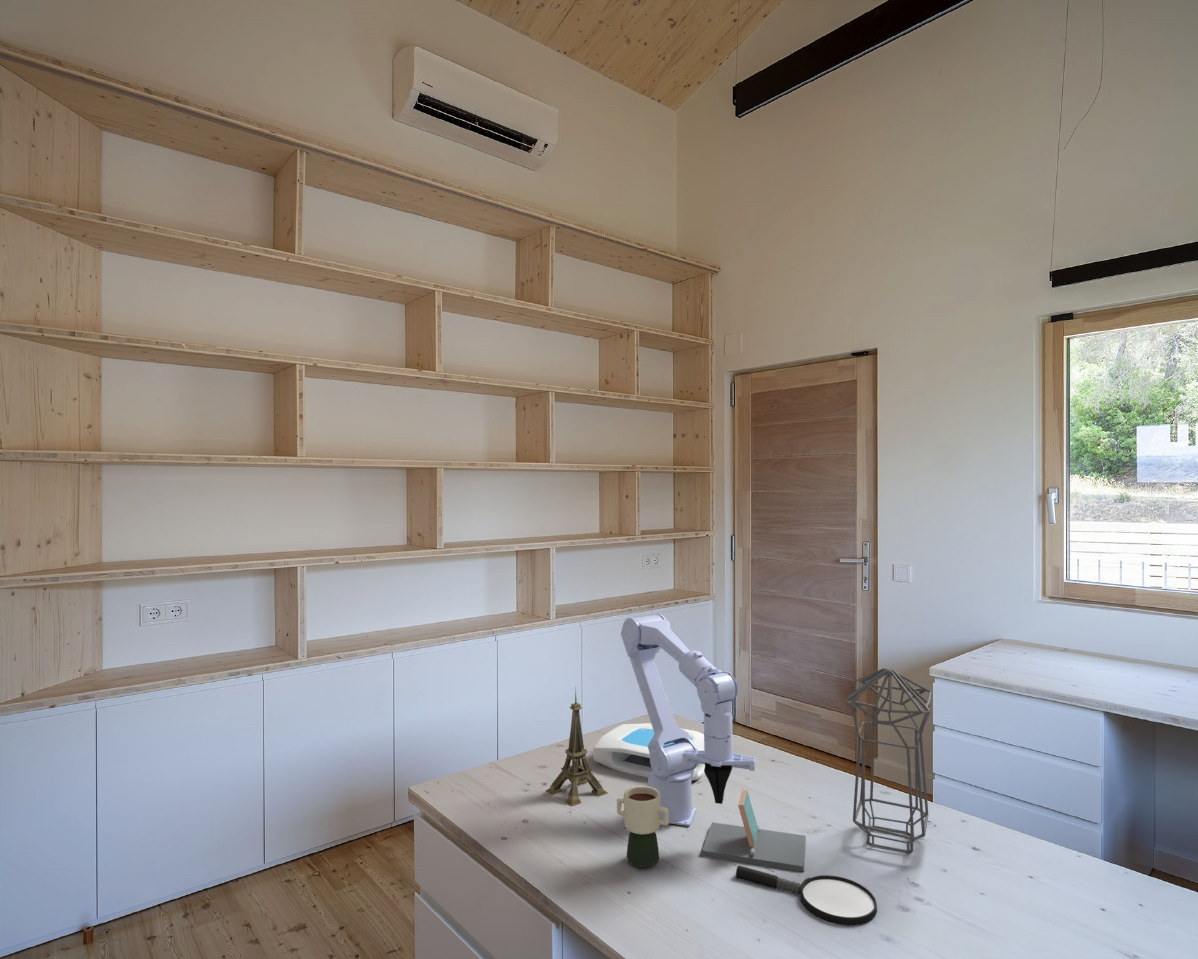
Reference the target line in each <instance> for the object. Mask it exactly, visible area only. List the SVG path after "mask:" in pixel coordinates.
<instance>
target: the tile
mask: <svg viewBox="0 0 1198 959" xmlns="http://www.w3.org/2000/svg"><path fill="white" fill-rule="evenodd" d="M748 792H749V791H748V789H743V790H741V794H740V797H739V800H738V804H737V805H738V806H737V807H738V810H739V814H740V816H741V821H742V824H743V827H744V828H745V832H746V835H747V839H748V842H749V846H750V847H752V846H755V843H756V838H757V833H758V826H759V825H758V824H757V820H756V819H757V818H756V816H755V813H754V810H753V806H752V802H751V799H750V795H749V793H748ZM757 825H758V826H757Z"/></svg>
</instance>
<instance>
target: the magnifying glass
mask: <svg viewBox="0 0 1198 959" xmlns="http://www.w3.org/2000/svg"><path fill="white" fill-rule="evenodd" d="M735 877H736V879H739V880H742V881H745V882H750V883H754V884H758V885H761V886H764V887H767V888H770V889H777V890H781V891H785V892H789V893H792V894H796V895H799V900H800V903H801V904H802V906H803V908H804V909H806V911H807V912H808V913H810V914H811V915H813V916H814V917H816V918H818V919H819V920H823V921H825V922H827V923H831V924H835V925H840V926H848V927H849V926H850V927H851V926H861V925H864V924H867V923H869V922H871V921H872V920H874V919H875V917H876V916H877V912H878V908H877V907H878V904H877V899H876V897H875V896H874V895H873V893H872V892H871V890H869V889H868V888H867V887H865V886H863V885H862V884H860V883H858V882H856V881H854V880H852V879H849V878H846V877H842V876H838V875H828V874H825V875H824V874H821V875H816V876H812V877H806V878H805V879H804V880H802V882H797V881H794V880H793V881H792V880H788V879H786V878H782V877H778V876H777V875H776V874H775V875H774V874H771V873H767V872H765V871H761V870H756V869H755V868H750V867H746V866H744V865H737V866H736V872H735Z"/></svg>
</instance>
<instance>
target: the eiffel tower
mask: <svg viewBox="0 0 1198 959" xmlns="http://www.w3.org/2000/svg"><path fill="white" fill-rule="evenodd" d="M575 691H577V687H576V686H575ZM574 693H575V694H574V695H575V696H574V703H571V704H570V706H569V709H570V710H572V714H571V720H570V721H571V723H570V724H571V725H570V731H569V732H570V733H569V740H568V741H569V742H568V748H566V749H565V752H564V753H565V754H566V757H565V762H564V765H563V766H562V767H560V768H561V772H560V773H559V774H558V776H557V777H556V778H555V779H554V780H553V781H552V783H551V784H550V786H549V788H548V789H546V790H545V792H546V793H548V792H549V794H550V795H555V794H558V793H561V792H562V791H563V789H562V787H563V785H564V784H565V782H566V781H567V780H569V782H570V783H571V786H570V789H569V792H568V794H567V795H568V796H567V798H566V800H564V803H565V804H567V805H569V806H570V807H574V806H577V805H580V804H582V801H581V799H580V796H579V788H578V787H579V786H582V785H585V784H589V786H590V787H591V794H593V795H595V796H597V797H601V796H604V795H607V794H608V793H609V792H608V791H606V790H604V788H603V786H602V785H601V783H600V782H599V780H597V778H596V776H595V775H594V774H593V773H592V770H593V769H592V768H591V767H590V766H589V762H588V760H587V759H588V758H587V754H588V750H587V749H586V748H585V745H584V738H583V731H582V723H581V715H580V710H582V709H583V707H582V706H581V705H582V704H581V703H578V700H577V692H574Z"/></svg>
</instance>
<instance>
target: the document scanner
mask: <svg viewBox="0 0 1198 959" xmlns="http://www.w3.org/2000/svg"><path fill="white" fill-rule="evenodd" d="M682 729H683V730H685V731H686V732H688V733H689V736H690V739H691V741H692V742H693V744H694V745H695V746H696V748H697V751H703V750H704V733H702V732H699V731H697V730H692V729H687V728H686V729H685V728H682ZM654 734H655V733H654V730H653V727H652V724H651V722H650V723H649V722H648V723H623V724H620V725H618V726H616V727H614V728H613V729H611V730H610V731H608V732H607V733H605V734H603V735H602V736H601V737H600V738H599V739H598V740H597V742H596V743H595V745H594V746H593V747H592V751H593V753H592V755H593V756H592V758H593V761H594V762H597V763H599V764H601V765H604V766H606V767H608V768H610V769H612V770H613V771H618V772H622V773H626V774H632V775H635V776H641V777H645V778H649V775H650V773H651V772H653V770H652V768H651V766H647V765H641V764H637V763H634V762H630V761H625V759H627V758H628V757H630V756H631V755H633V756H638V757H643V758H649V759H650V753H649V749H648V744H649V742H650V741H651V739H652V737H653V736H654ZM671 744H674V743H669V744H665V745H663V747H664V746H667V745H671ZM704 769H705V764H699V763H698V766H697V767H696V768H695V769H694V774H693V775H691V782H692V781H698V780H701V779H702V778H703V777H704V776H705V772H704Z"/></svg>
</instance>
